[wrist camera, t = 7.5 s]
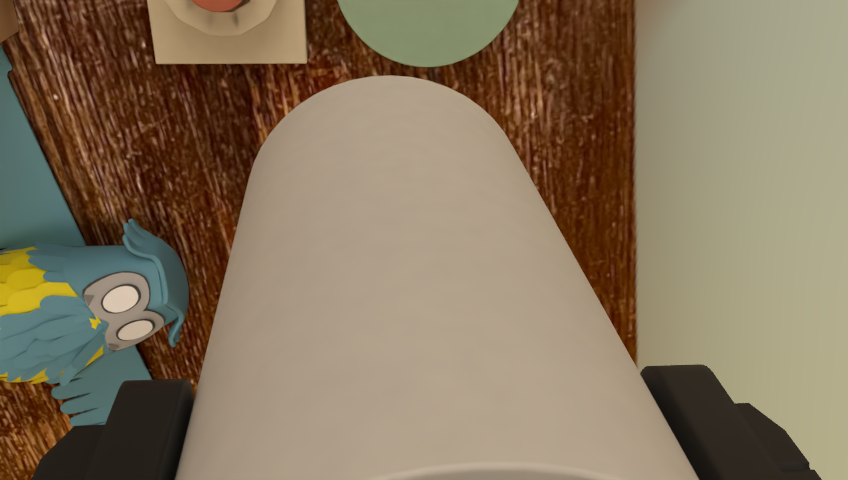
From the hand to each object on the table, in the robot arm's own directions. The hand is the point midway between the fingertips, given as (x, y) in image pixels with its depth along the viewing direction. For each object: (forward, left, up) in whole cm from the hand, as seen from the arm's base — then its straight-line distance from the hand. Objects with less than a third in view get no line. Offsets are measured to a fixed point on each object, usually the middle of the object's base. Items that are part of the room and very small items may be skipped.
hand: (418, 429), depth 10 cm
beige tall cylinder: (0, 0, -7) cm, 7 cm away
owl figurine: (+18, -18, -36) cm, 44 cm away
